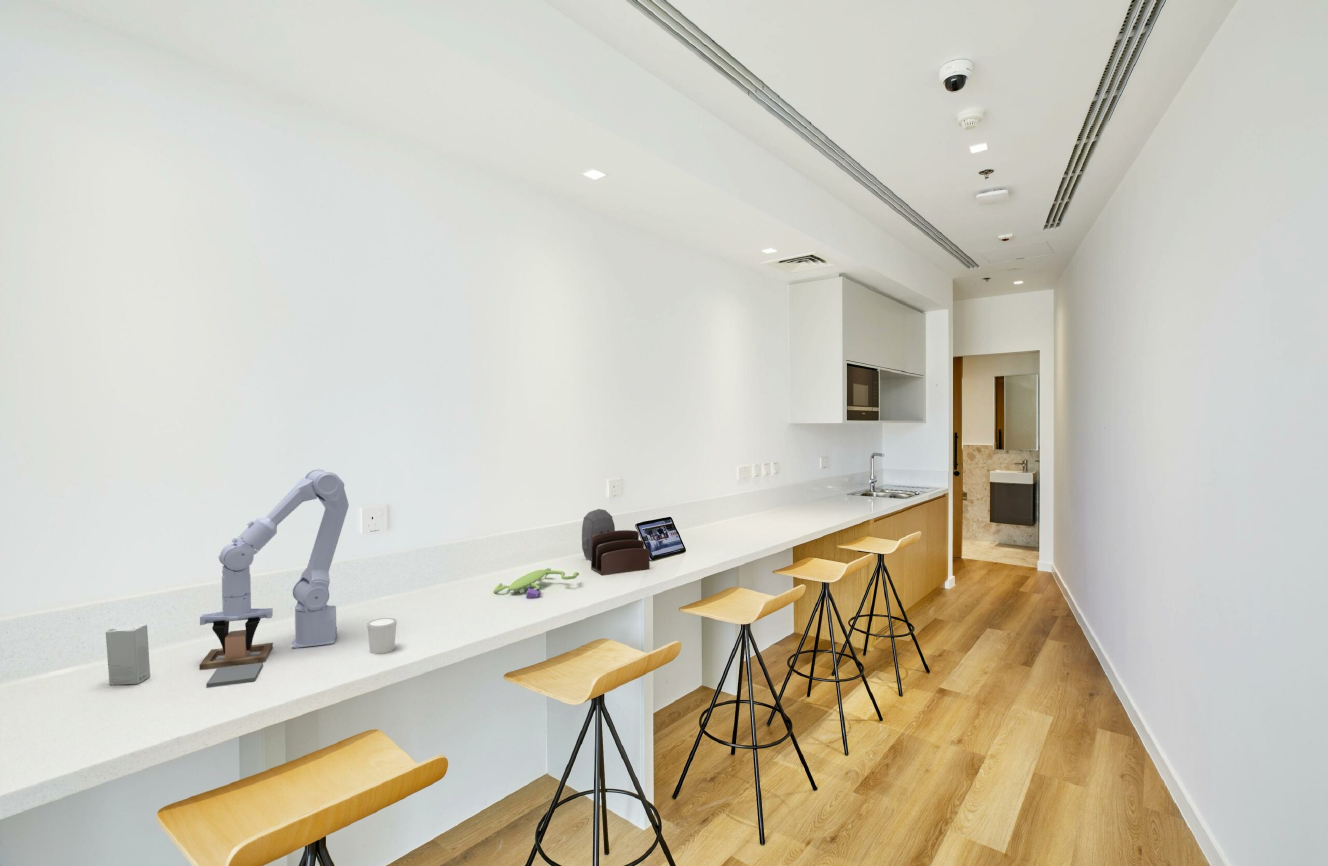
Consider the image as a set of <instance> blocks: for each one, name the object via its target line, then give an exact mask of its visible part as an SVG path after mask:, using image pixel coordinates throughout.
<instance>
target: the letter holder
mask: <svg viewBox="0 0 1328 866" xmlns="http://www.w3.org/2000/svg"><path fill="white" fill-rule="evenodd" d="M639 537H640V534H639V531H638V530H629V529H625V530H624V529H623V530H615V531H610V532H605V533H600V534H596V535H593V536H592V538H591V560H590V561H591V562H590V568H591V569H590V570H591V571H593V572H595V573H597V574H598V575H600V576H608V575H616V574H624V573H631V572H632V573H633V572H638V571H647V570H650V569H651V568H650V550H649V549H648V548H645V542H644V540H643V539H639Z"/></svg>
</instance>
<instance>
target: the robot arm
mask: <svg viewBox="0 0 1328 866" xmlns="http://www.w3.org/2000/svg"><path fill="white" fill-rule="evenodd" d="M317 499H318V500H319V501H320V503H321V504H322V505H323V507H324V511H323V516H322V518H321V521H320V525H319V527H318V531H317V533H316V534H317V535H316V538H315V541H314V543H313V548H312V551H311V554H310V558H309V559H308V563H307V566H306V568H305V569H304V571H302V573H301V576H300V579H299V580H298V581H297V582H296V583H295V584H294V586H293V588H292V597H293V598H294V599H295V601H297V603H296V605H295V607H294V623H295V624H294V627H295V630H294V631H295V633H294V635H295V636H294V637H295V639H294V640H293V643H292V645H291V648H292V649H297V648H298V649H299V648H306V647H307V648H308V647H314V646H315V647H316V646H325V645H333V644H335V640H336V637H337V634H338V626H337V606H336V605H335V604H334V605H328V601H329V600H330V599H329V598H330V590H329V586H330V583H331V581H330V574H329V573H330V570H331V565H332V563H333V560H334V555H335V553H336V549H337V546H338V543H339V539H340V535H341V533H342V528H343V526H344V523H345V519H346V516H347V513H348V509H349V505H350V504H349V501H348V498H347V494H346V490H345V482H344V481H343V480H342V479H341V478H340V476H339V475H337V474H336V473H334V472H332V471H325V470H323V469H320V468H319V469H318V468H317V469H311V470H310V471H309V472H308V473H307V474H306V475H305V477H302V478H301V479H300V480H299V481H297V483H296V484H295V485H294V486H293V487H292V489H290V491H289V492H288V493H287V494H285V496H284V497H283V498H282V499H281V500H280V501H279V502H278V504H276V506H274V507H273V509H272V510H271V511H270V512H269V513H268V514H267V516H265V517H258V518H256V519H255V520H254V521H253V520H250V521H249V522H248V523H247V524H246V525H247V526H248V527H246V528H245V529H244V530H243V532H241V534H239V536H237V537H236V538H235V537H234V538H232V539H231V543H230V544H227V545H225V546H224V547H223V548H222V549H221V551H220V554H219V556H218V560H219V562H220V564H222V570H221V571H222V576H221V596H222V597H221V600H222V601H221V602H222V603H221V604H222V611H218V612H213V613H206V614H201V616H199V625H200V626H205V625H207V624H208V625H209V624H212V627H211V628H212V631H213V633H214V634H215V636H216V637H217V638H218V640H219V642H220V645H221V647H222V648H223V652H224V653H225V637H226V636H227V635H228V633H229V632H230V631H229V629H230V622H237V621H246V622H245V623H244V626H245V630H246V637H247V639H246V651H248V650H250V649H251V647H252V645H253V640H254V637H255V633H256V631H257V628H258V626H259V623H260V621H261V619H272V617H273V615H274V614H273V612H274V611H273V607H271V608H267V607H266V608H252V593H251V592H252V591H251V589H252V588H251V573H250V572H251V571H250V570H251V569H250V568H251V567H250V566H251V565H253V561H254V558H255V557H254V556H255V555H256V554H258V553H259V552H260V551H261V550H262V549H263V548H264V547H265V546H266V545H267V544H268V543H269V542H270V541H271V540H272V539H273V537H275V536H276V535H277V532H278V526H279V524H281V523H282V522H283V521H284V520H285V519H286V518H287V517H288V516H289V515H290V514H291V513H293V512H294V511H295V510H296V509H297V508H298V507H299V506H300V505H301V504H302V503H304V502H309V501H312V500H317Z"/></svg>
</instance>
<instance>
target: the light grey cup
mask: <svg viewBox="0 0 1328 866" xmlns="http://www.w3.org/2000/svg"><path fill="white" fill-rule="evenodd" d="M397 621H398V620H397V619H396V618H393V617H392V618H391V617H383V618H376V619H373V620H370V621H368V622H367V623H366V626H367V635H368V645H369V652H370V654H374V653H375V655H379V654H380V655H382V654H386V652H387V653H391V652H392V651H393V650H394V649H395V644H396V643H395V642H396V635H397V634H396V632H397ZM391 650H392V651H391ZM381 653H382V654H381Z"/></svg>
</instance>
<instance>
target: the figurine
mask: <svg viewBox="0 0 1328 866" xmlns="http://www.w3.org/2000/svg"><path fill="white" fill-rule="evenodd" d="M548 575H561V579H562V580H575V579H576V578H577V577H578V576H579V575H580V573H579V572H577V571H576V572H574V573H573V574H572V575H571V576H567V575H566V572H565V571H562V570H552V568H549V567H547V568H545V569H538V570H534V571H531V572H529V573H527V574H525V575H522V576H521V577H519V578H518V579H516V580H514V581H513V582H512V583H511V584H509V585H506V584H504V585H503V583H502V582H500V583H499V584H498V585H497V586H496V587H495V588H494V589H493V593H494V594H498V593H500V592H502V591H504V590H505V589H508V590H509V591H513V592H514V593H517V592H518V591H519V593H520V594H524V593H525V591H526V588H527V587H528V588H527V591H526V593H525V594H526V596H525V598H527V599H537V598H539V597H540V596H541V593H542V591H541V590H540V588H541V586H540V585H537V584H536V582H539V580H541V579H542V578H544V579H546V578H547V576H548ZM565 575H566V576H565Z"/></svg>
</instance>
